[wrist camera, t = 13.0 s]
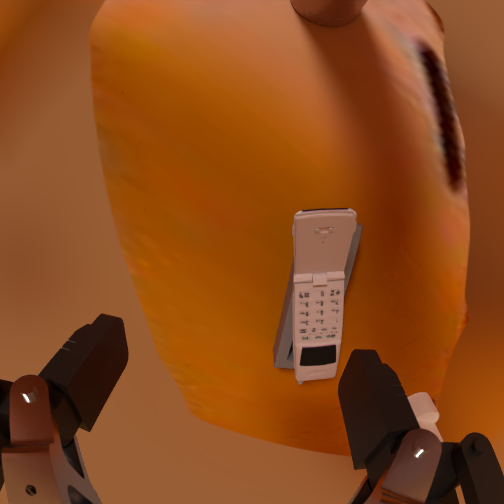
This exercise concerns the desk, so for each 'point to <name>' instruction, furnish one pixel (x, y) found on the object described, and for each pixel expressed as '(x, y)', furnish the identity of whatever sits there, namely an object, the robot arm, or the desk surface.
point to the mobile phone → (319, 289)
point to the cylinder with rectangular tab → (425, 412)
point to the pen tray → (285, 329)
